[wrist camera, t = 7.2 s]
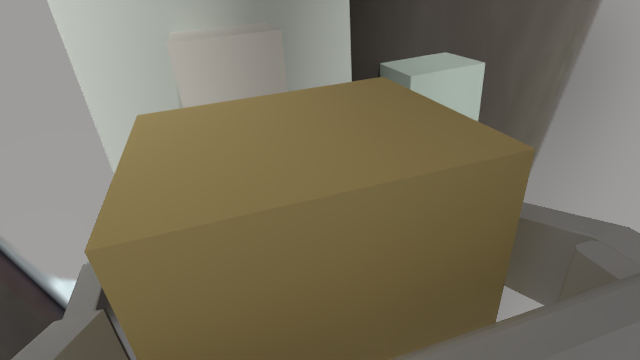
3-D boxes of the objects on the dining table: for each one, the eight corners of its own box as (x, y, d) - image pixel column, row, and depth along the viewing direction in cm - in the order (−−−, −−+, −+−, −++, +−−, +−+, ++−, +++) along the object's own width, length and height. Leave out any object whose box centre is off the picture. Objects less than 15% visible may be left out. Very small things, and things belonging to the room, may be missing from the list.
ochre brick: (137, 115, 8) (84, 251, 4) (383, 76, 10) (535, 149, 5) (199, 306, 11) (205, 501, 7) (381, 255, 13) (479, 393, 8)
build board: (24, -77, 20) (-34, -99, 15) (339, -90, 24) (381, -110, 19) (130, 204, 29) (118, 254, 23) (348, 160, 33) (379, 193, 28)
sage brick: (379, 63, 30) (410, 76, 26) (444, 52, 31) (485, 62, 27) (380, 132, 33) (408, 154, 29) (440, 120, 34) (475, 139, 30)
